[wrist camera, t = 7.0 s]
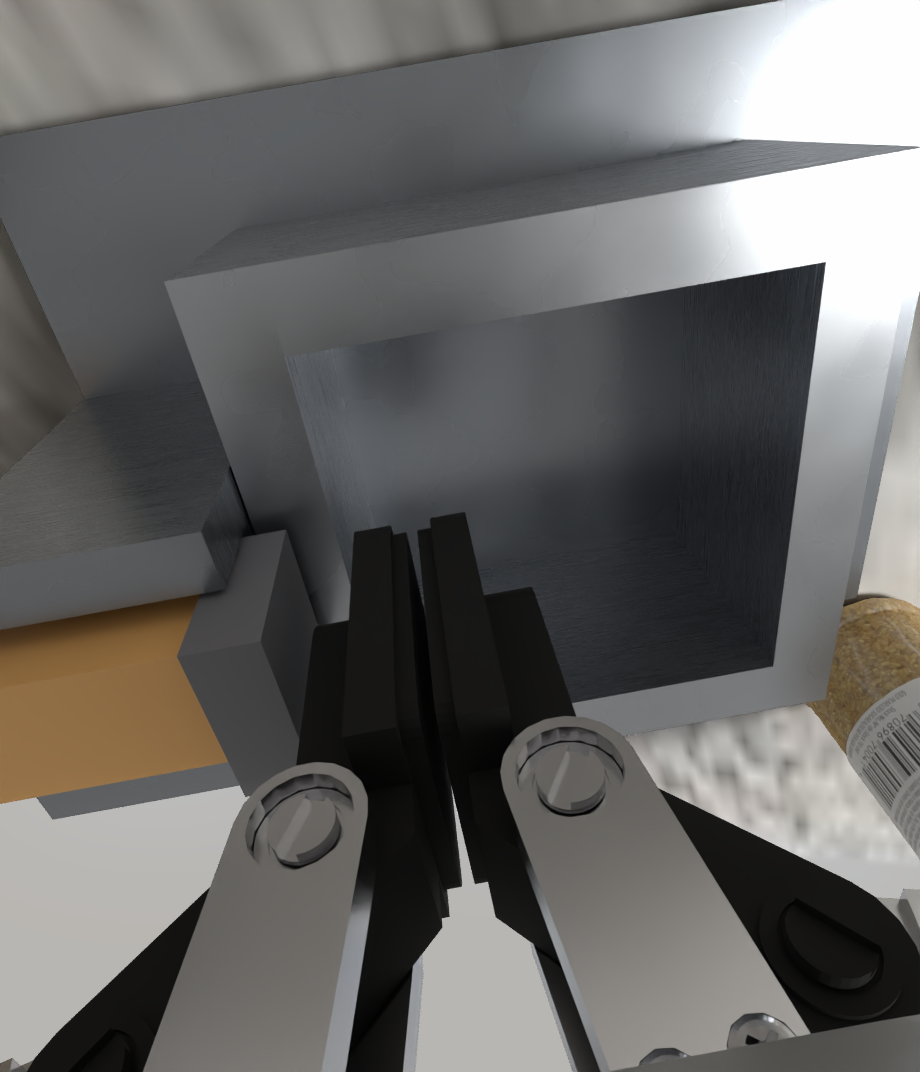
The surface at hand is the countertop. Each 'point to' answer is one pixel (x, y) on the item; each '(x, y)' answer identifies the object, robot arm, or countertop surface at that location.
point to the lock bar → (162, 684)
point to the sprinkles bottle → (879, 705)
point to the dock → (494, 344)
